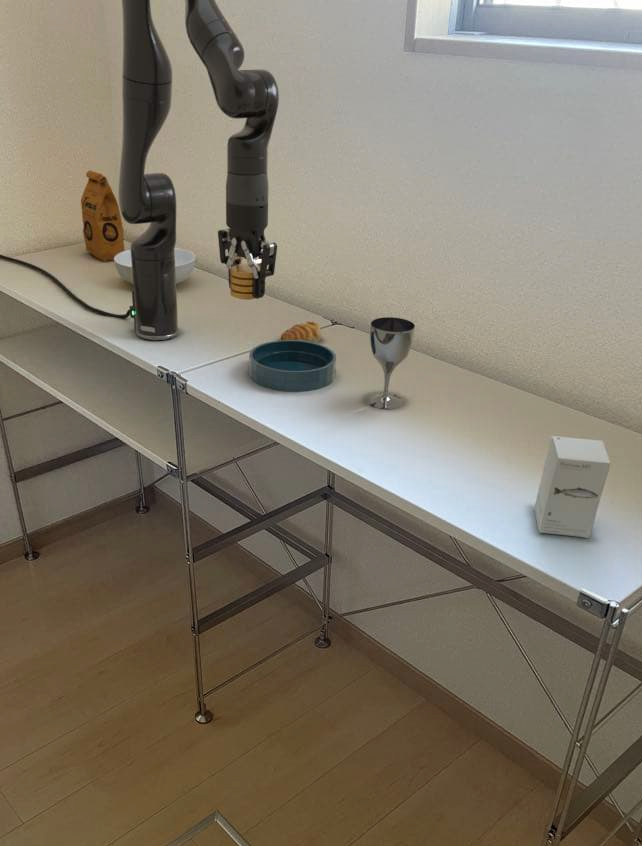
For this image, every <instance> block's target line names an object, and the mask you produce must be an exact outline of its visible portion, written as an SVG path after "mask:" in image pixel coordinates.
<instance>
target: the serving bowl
mask: <svg viewBox="0 0 642 846" xmlns="http://www.w3.org/2000/svg"><path fill="white" fill-rule="evenodd" d="M174 250H175V272H176V285H177V284H180V283H182V282H184V281H185V280H187V279H188V278H189V277H190V276H191V275H192V273H193V271H194V269H195V265H196V255H195V253H193V252H192V251H191V250H189V249H184V248H180V247H175V249H174ZM113 262H114V266H115V270H116V271H117V273H118V274H119V276H120V277H121V278H122V279H123V280H124V281H126V282H128V283H130V284H132V285H133V274H132V261H131V248H130V249H127V250H124V251H123V252H121V253H119V254H117V255H116V256H115V257H114V260H113Z"/></svg>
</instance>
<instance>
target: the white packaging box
mask: <svg viewBox="0 0 642 846" xmlns="http://www.w3.org/2000/svg"><path fill="white" fill-rule="evenodd" d="M547 448H548V449H547V453H546V457H545V460H544V464H543V469H542V475H541V477H540V482H539V487H538V491H537V495H536V499H535V503H534V507H533V509H534V515H535V519H536V524H537V530H538V533H539V534H550V535H562V536H569V537H578V538H584V539H589V538H590V536H591V534H592V531H593V526H594V523H595V519H596V516H597V512H598V509H599V505H600V502H601V498H602V495H603V491H604V488H605V484H606V481H607V478H608V474H609V471H610V467H611V464H612V462H611V460H610V457H609V454H608V451H607V448H606V446H605V443H604V441H603V440H599V439H590V438H589V439H587V438H578V437H566V436H557V435H551V436H550V439H549V443H548V447H547Z"/></svg>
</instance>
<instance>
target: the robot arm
mask: <svg viewBox="0 0 642 846" xmlns="http://www.w3.org/2000/svg"><path fill="white" fill-rule="evenodd" d="M121 11H122V67H121V69H122V70H121V71H122V73H121V75H122V77H121V78H122V79H121V86H122V87H121V88H122V89H121V98H122V99H121V100H122V102H121V103H122V136H121V137H122V141H121V151H120V152H121V154H120V166H119V176H118V189H117V190H118V192H117V193H118V206H119V211H120V215H121V217H122V218H123V220H124V221H125V222H126V223H128V224H130V225H142V224H148V223H149V226H148V228H146V230H145V231H144V232H143V233H141V234H140V235H138V236H136V237H135V238H133V240H132V241H131V243H130V249H131V261H132V274H133V284H132V285H133V286H132V287H133V288H132V289H131V300H132V305H129V306H128V307H129V309H128V310H127V311H126V313H125V314H115V313H111V312H108V311H104V310H101V309H99V308H95V307H93V306H91V305H90V304H87V303H86V302H85V301H83V300H82V299H80V298H79V297H77V295H76V294H75V293H73V292H72V291H70V290H69V289H68V288H67V287H66V286H65V285H64V284H63V283H62V282H61V281H59V280H58V278H56V277H55V276H54V275H52V274H51V273H50V272H48V271H47V270H45V269H43V268H41V267H39V266H37V265H34V264H32V263H29V262H27V261H24V260H21V259H17V258H14V257H10V256H7V255H3V254H0V259H2V260H6V261H10V262H13V263H17V264H20V265H22V266H26V267H28V268H31V269H34V270H35V271H38V272H40V273H42V274H43V275H45V276H47V277H48V278H49V279H51V280H52V281H53V282H55V283H56V284H57V285H58V286H59V287H60V288H61V289H62V290H63V291H64V292H65V293H66V294H67V295H68V296H70V298H72V299H73V300H74V301H75V302H77V303H78V304H79V305H81V306H82V307H84V308H86V309H87V310H88V311H91V312H94V313H96V314H99V315H103V316H106V317H110V318H115V319H128V318H129V317H130V318H131V319H133V324H134V331H135V334H136V336H137V337H138V338H141V339H143V340H147V341H166V340H171V339H173V338H175V337H176V336H178V335H179V324H178V322H179V321H178V296H177V284H176V272H175V250H174V249H175V248H176V243H177V194H176V188H175V186H174V183H173V180H172V179H171V177H170V176H169V175H168V174H167V173H164V172H152V173H145V170H146V163H147V159H148V155H149V153H150V149H151V147H152V145H153V143H154V142H155V140H156V138H157V136H158V135H159V133H160V131H161V129H162V128H163V126H164V124H165V122H166V120H167V118H168V116H169V114H170V111H171V108H172V95H173V67H172V63H171V60H170V57H169V55H168V53H167V50H166V48H165V45H164V44H163V41H162V39H161V37H160V35H159V33H158V31H157V29H156V26H155V23H154V20H153V15H152V8H151V0H121ZM184 25H185V26H184V27H185V31H186V35H187V39H188V40H189V43H190V45H191V47H192V48H193V50H194V52H195V53H196V55H197V57H198V58H199V60H200V61H201V63H202V64H203V66H204V68H205V69H206V71H207V75H208V79H209V82H210V85H211V88H212V91H213V95H214V100H215V101H216V102H215V103H216V104H217V107H218V108H219V110H220V111H221V112H222V113H223V114H224V115H225V116H227V117H229V118H231V119H235V120H237V119H238V120H241V119H245V122H244V125H243V128H242V129H241V130H240V131H238V132H236V133H233V134H231V136H229V137H228V139H227V143H226V154H227V155H226V181H225V225H226V226H227V227H228V228H224V229H218V231H217V238H218V250H219V251H218V252H219V261H220V263H221V264H224V265H225V266H226V268H227V271H228V272H227V273H228V287H229V288H228V289H230V290H231V278H230V276H231V273H230V268H231V267H232V266H234V265H237V264H242V261H243V259H245V260H246V262H247V263H246V264H248V265H249V266H250V267H251V269H252V273H253V276H254V278H253V298H255V299H256V300H258V299H261V298H263V297H264V296H265V293H266V278H267V277H273V276H274V275H275V271H276V270H275V269H276V261H277V254H278V253H277V252H278V244H277V243H276V242H269V241H267V240H266V235H265V230H266V228H267V227H268V225H269V177H268V167H269V165H268V163H269V162H268V161H269V156H268V155H269V154H268V153H269V144H270V140H271V136H272V133H273V129H274V124H275V121H276V118H277V113H278V109H279V103H280V92H279V87H278V83H277V80H276V78H275V76H274V75H273V74H272V73H271V72H270V71H269V70H267V69H263V68H261V69H259V68H258V69H256V68H255V69H240V68H241V67H242V66H243V63H244V61H245V49H244V46H243V44H242V42H241V41H240V39H239V38H238V35H237V34H236V32H234V29H233V28H232V26H231V25H230V23H229V22H228V20H227V19H226V17H225V16H224V14H223V12H222V10H221V9H220V7H219V5H218V3H217V1H216V0H184ZM226 250H227V253H226ZM257 258H258V259H257ZM257 265H258V266H259V267H260V271H258V268H257Z"/></svg>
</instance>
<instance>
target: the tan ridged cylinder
mask: <svg viewBox="0 0 642 846" xmlns="http://www.w3.org/2000/svg"><path fill="white" fill-rule="evenodd" d="M257 268H258V271H260V267H259V265H257ZM230 273H231V276H230V278H231V289H230V296H231V297H233V298H235V299H240V300H254V299H256V298H253V278H254V276H253V273H252V269H251V267H250V266H249V265H248V263H241V264H237V265H234V266H232V267H231V268H230Z"/></svg>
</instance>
